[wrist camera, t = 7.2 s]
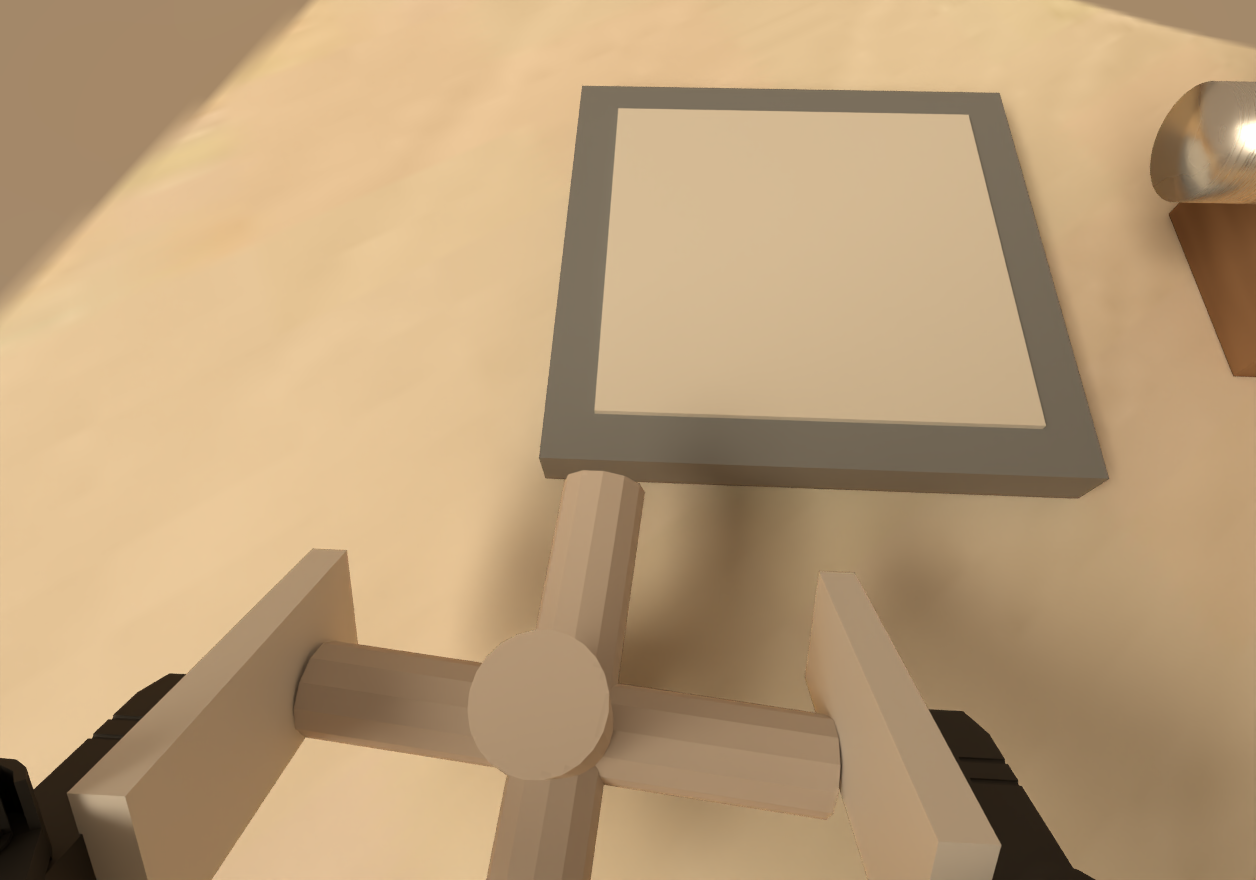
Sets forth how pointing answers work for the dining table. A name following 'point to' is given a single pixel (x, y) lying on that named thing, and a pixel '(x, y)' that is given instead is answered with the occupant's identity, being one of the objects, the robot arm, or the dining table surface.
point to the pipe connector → (571, 708)
